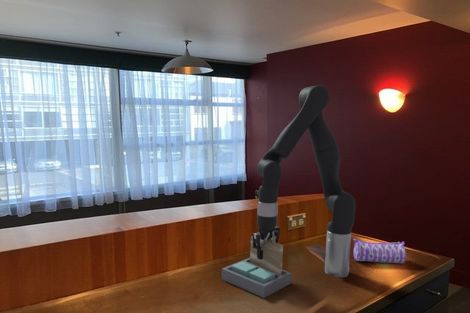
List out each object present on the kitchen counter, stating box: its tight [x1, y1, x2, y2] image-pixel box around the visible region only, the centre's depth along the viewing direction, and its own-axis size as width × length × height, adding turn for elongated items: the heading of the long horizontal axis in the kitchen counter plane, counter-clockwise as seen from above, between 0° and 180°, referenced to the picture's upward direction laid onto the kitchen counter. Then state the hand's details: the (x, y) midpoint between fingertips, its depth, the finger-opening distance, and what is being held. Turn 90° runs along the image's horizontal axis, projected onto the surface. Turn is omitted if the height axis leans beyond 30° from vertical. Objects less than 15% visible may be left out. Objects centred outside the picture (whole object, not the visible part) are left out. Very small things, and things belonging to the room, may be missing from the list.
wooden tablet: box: [306, 244, 351, 267], centre depth 169 cm, size 26×2×10 cm
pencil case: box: [352, 238, 407, 264], centre depth 163 cm, size 22×9×10 cm, turn 90°
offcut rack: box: [221, 257, 293, 299], centre depth 138 cm, size 16×20×5 cm
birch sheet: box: [249, 236, 284, 275], centre depth 141 cm, size 2×14×14 cm, turn 47°
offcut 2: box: [249, 268, 275, 284], centre depth 133 cm, size 6×7×5 cm
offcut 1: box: [231, 260, 256, 278], centre depth 139 cm, size 6×7×5 cm
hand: (265, 256), depth 141 cm, fingers open, 6 cm apart
